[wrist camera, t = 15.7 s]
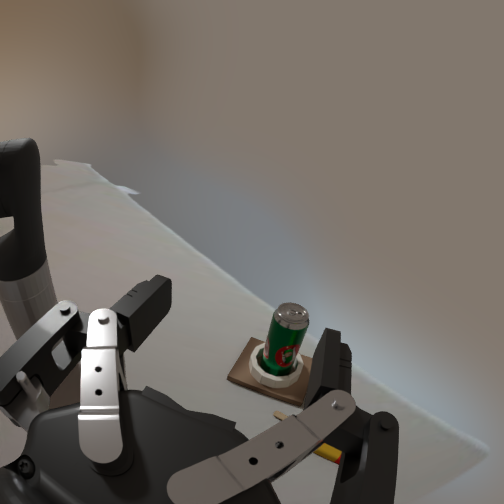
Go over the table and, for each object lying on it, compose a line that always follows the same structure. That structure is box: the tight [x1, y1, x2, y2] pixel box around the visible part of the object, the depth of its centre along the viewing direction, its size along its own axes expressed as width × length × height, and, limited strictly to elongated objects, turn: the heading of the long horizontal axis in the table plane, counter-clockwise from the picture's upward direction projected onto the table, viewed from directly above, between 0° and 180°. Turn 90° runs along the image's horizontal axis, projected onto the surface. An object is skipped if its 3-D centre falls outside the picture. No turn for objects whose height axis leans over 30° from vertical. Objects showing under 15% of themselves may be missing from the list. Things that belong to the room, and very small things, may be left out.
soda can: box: [260, 303, 309, 377], centre depth 39 cm, size 5×5×12 cm
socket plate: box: [227, 337, 313, 406], centre depth 41 cm, size 12×10×3 cm
